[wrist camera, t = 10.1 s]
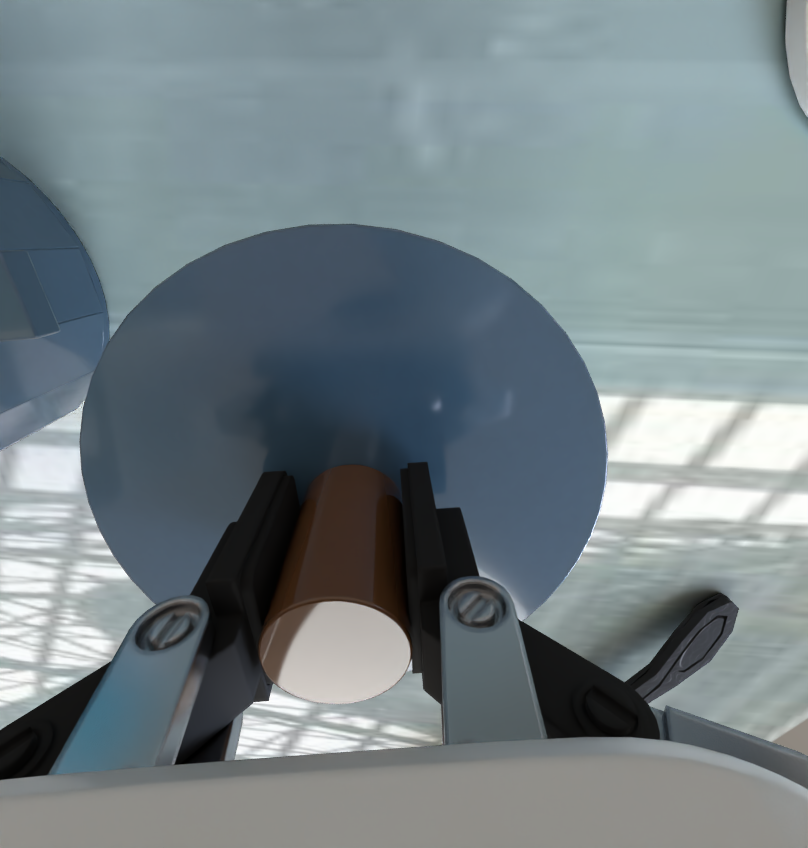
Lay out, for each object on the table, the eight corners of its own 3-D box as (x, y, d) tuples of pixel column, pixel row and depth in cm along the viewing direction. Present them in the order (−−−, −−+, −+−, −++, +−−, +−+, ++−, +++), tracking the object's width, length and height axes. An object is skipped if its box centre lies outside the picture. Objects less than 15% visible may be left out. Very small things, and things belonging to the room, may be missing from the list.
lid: (10, 253, 10) (-421, 269, 5) (619, 198, 10) (885, 151, 5) (189, 666, 16) (92, 879, 10) (570, 630, 16) (663, 824, 10)
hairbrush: (796, 657, 27) (525, 844, 33) (748, 611, 30) (511, 789, 37) (723, 599, 24) (447, 812, 31) (680, 557, 28) (440, 756, 34)
